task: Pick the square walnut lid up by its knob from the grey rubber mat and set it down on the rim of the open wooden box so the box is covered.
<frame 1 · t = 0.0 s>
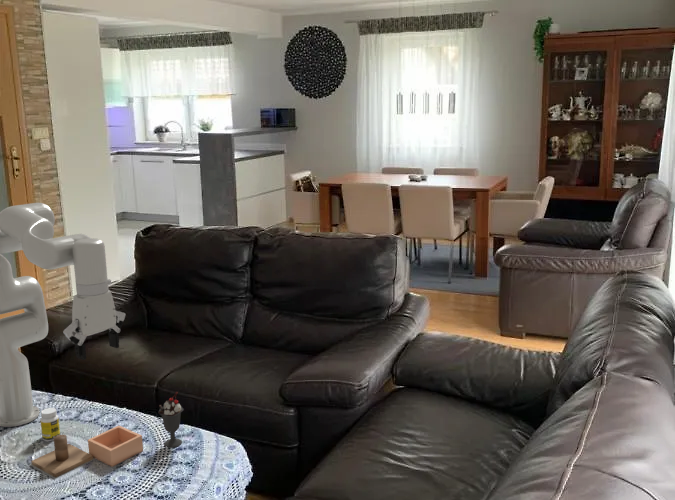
hand: (98, 352, 172), 31 cm above the table, tool pointing down, fingers open, 9 cm apart
sundae: (173, 443, 189), on the table
supplement bottle: (51, 438, 193), on the table
mat: (62, 463, 179), on the table
open wooden box: (116, 454, 183), on the table
lid: (62, 461, 179), resting on mat
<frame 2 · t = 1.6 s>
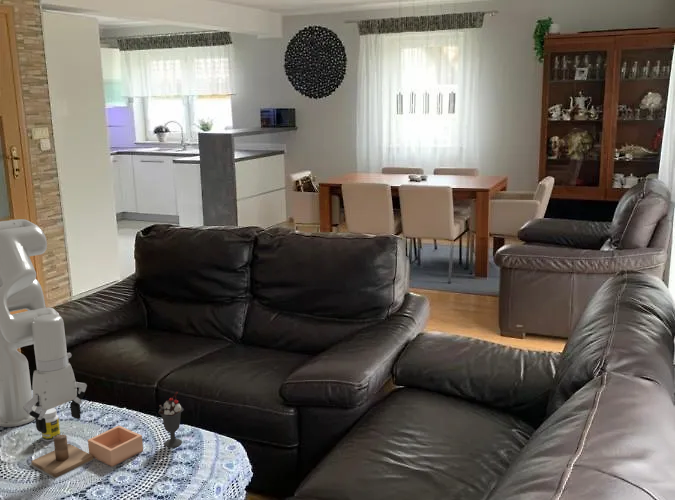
hand: (59, 424, 176), 11 cm above the table, tool pointing down, fingers open, 9 cm apart
nothing on the table moved.
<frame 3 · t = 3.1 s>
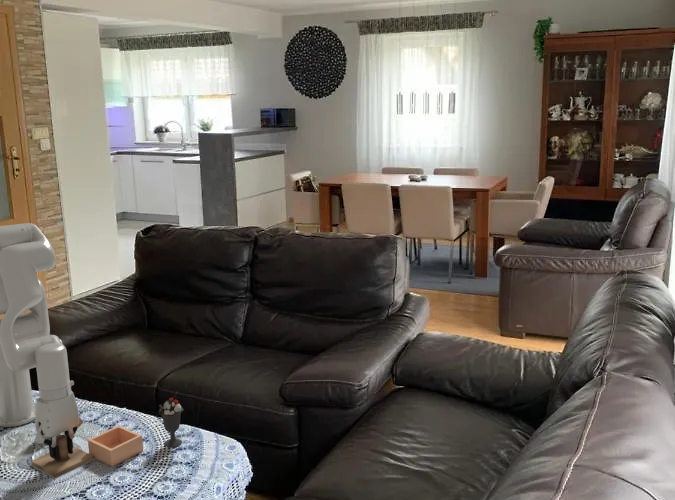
hand: (61, 454, 179), 2 cm above the table, tool pointing down, fingers closed on lid, 3 cm apart
lid: (62, 461, 179), resting on mat, touching gripper
everything else where it was.
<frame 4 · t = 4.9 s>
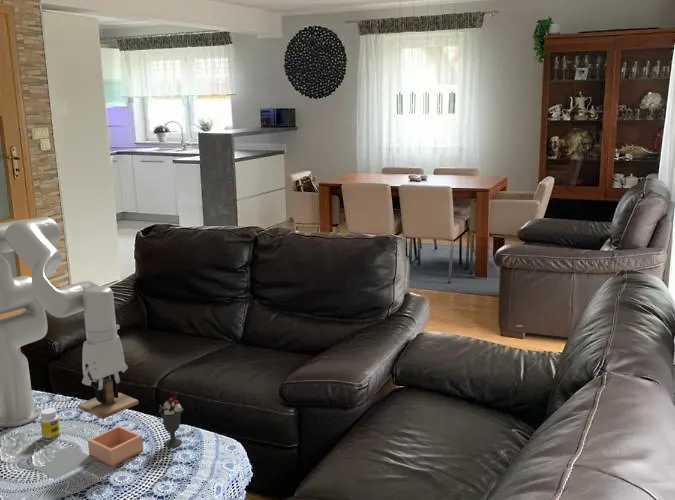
hand: (107, 398, 179), 17 cm above the table, tool pointing down, fingers closed on lid, 3 cm apart
lid: (108, 405, 180), point 15 cm above the table, touching gripper
everything else where it was.
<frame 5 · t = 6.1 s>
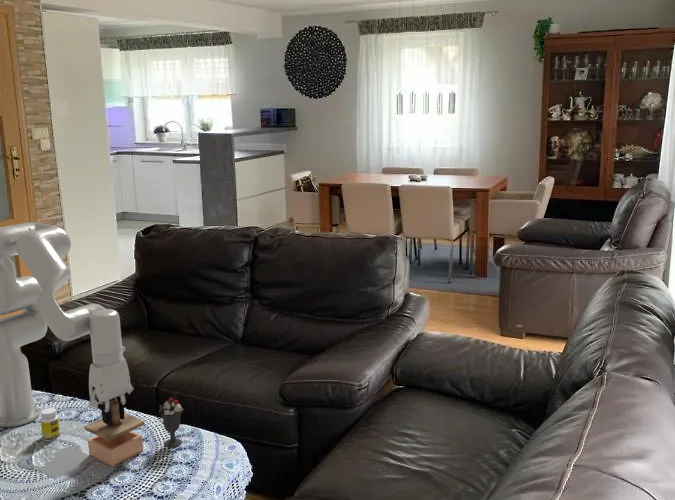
hand: (113, 420, 181), 10 cm above the table, tool pointing down, fingers closed on lid, 3 cm apart
lid: (114, 427, 181), point 8 cm above the table, touching gripper
everything else where it was.
when the fingers open (8 cm above the table, at t = 6.8 s): lid stays where it is, resting on open wooden box.
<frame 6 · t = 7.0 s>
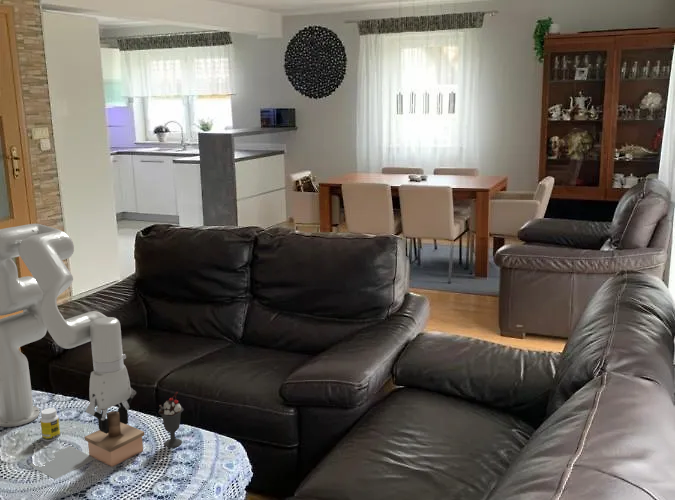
hand: (114, 426, 181), 8 cm above the table, tool pointing down, fingers open, 5 cm apart
lid: (114, 437, 182), point 5 cm above the table, touching open wooden box
everything else where it was.
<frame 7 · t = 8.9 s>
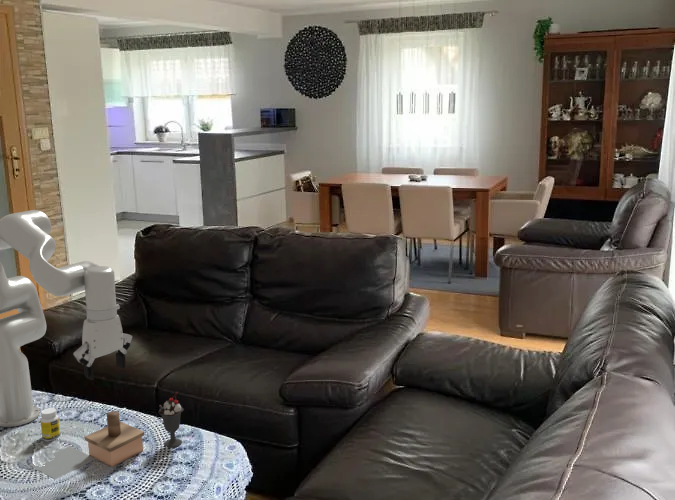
hand: (105, 372, 183), 22 cm above the table, tool pointing down, fingers open, 9 cm apart
nothing on the table moved.
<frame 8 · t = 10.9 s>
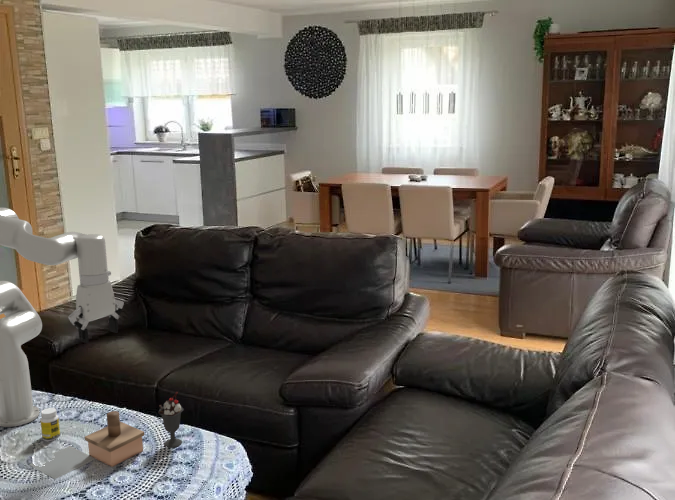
hand: (99, 336, 192), 28 cm above the table, tool pointing down, fingers open, 9 cm apart
nothing on the table moved.
at the end: lid 0.0 cm off-centre on the open wooden box, point 5.0 cm above the open wooden box's base; lid tilted 0°; the gripper is holding nothing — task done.
